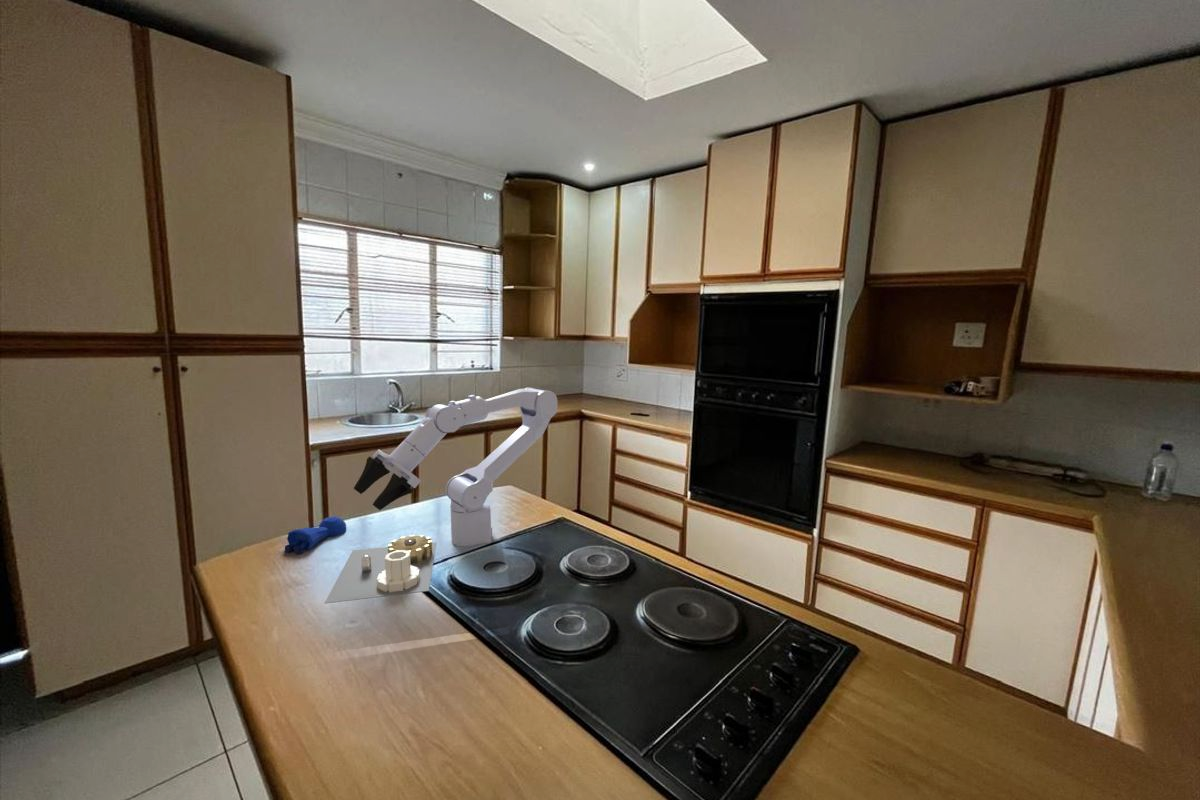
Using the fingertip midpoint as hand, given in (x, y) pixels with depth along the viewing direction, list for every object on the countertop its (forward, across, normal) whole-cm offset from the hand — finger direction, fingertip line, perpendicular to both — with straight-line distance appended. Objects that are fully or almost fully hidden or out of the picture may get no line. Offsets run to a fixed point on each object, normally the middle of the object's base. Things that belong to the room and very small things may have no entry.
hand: (366, 499), depth 99 cm
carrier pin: (+11, +4, +10) cm, 15 cm away
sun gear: (+4, +6, +16) cm, 17 cm away
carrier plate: (+9, +7, +12) cm, 16 cm away
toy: (+15, -18, +15) cm, 28 cm away
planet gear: (+8, +13, +9) cm, 18 cm away
